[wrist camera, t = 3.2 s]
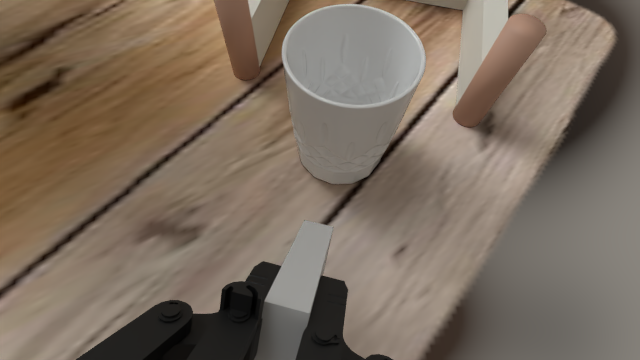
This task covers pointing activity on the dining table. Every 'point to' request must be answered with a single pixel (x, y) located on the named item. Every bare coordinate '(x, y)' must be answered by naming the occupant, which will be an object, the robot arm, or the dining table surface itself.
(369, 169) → the white cup
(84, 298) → the dining table surface
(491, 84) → the frame
